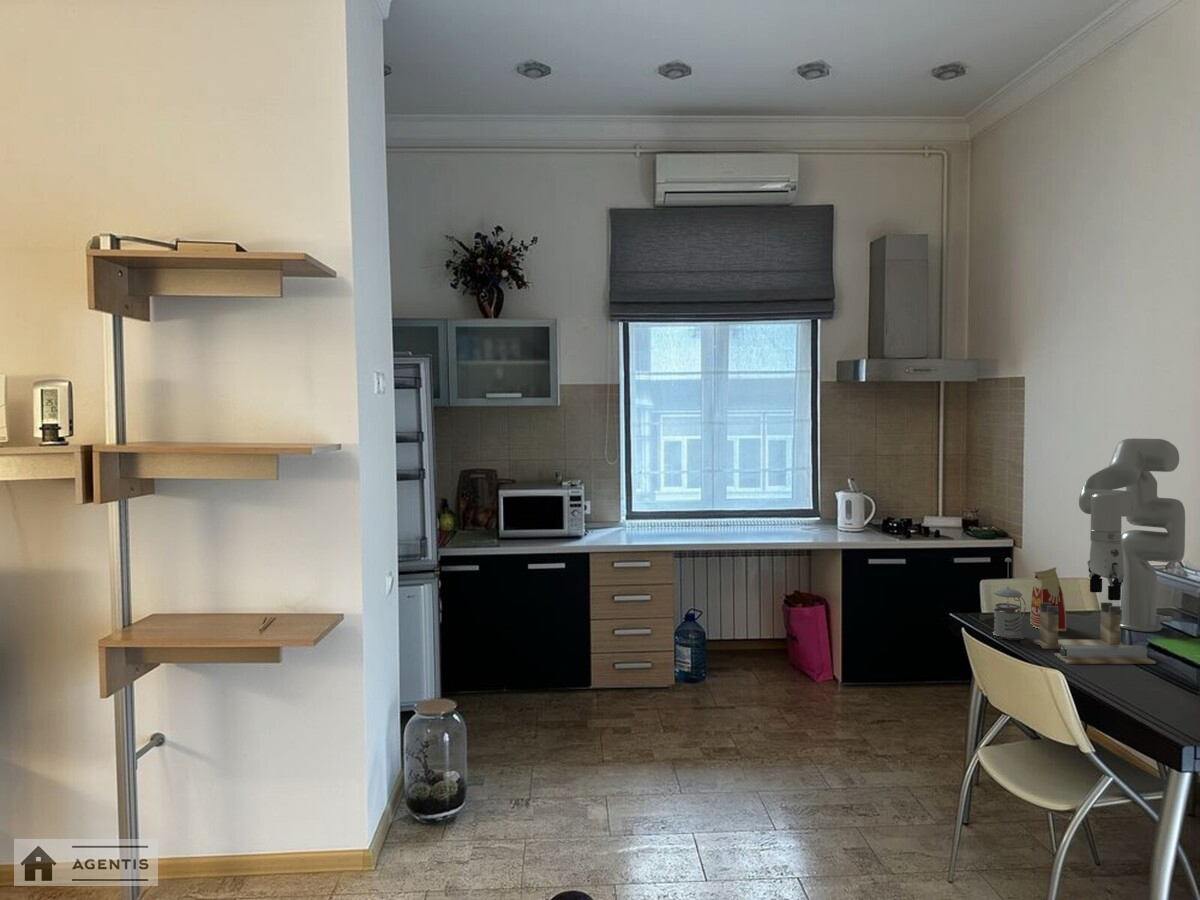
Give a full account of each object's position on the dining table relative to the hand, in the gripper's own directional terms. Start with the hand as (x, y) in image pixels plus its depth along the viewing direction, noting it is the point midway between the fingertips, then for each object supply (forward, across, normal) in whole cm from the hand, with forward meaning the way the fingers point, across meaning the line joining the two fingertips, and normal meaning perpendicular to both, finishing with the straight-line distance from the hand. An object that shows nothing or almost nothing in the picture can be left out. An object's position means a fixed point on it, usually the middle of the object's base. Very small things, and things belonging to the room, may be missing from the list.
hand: (1104, 596), depth 243 cm
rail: (+18, 0, 0) cm, 18 cm away
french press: (+19, +25, +16) cm, 35 cm away
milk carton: (+19, +35, 0) cm, 39 cm away
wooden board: (+18, 0, 0) cm, 18 cm away
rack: (+18, +14, 0) cm, 23 cm away
